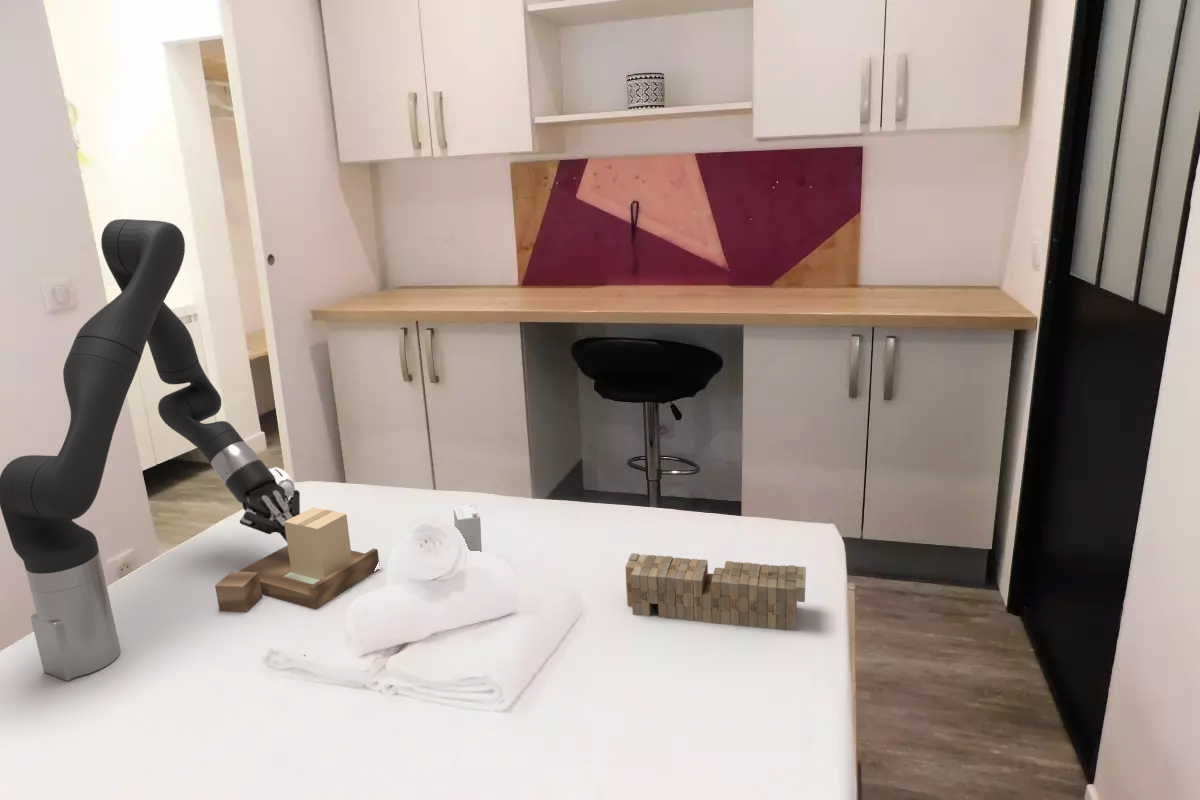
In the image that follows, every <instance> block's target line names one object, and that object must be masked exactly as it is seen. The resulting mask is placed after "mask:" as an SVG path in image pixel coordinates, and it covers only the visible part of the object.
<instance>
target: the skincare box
mask: <svg viewBox="0 0 1200 800" xmlns="http://www.w3.org/2000/svg"><path fill="white" fill-rule="evenodd" d="M453 519H454V520H453V522H454V528H455V527H456V528H457V529H458V530H459V531H460V533H461V534H462V536H463V538H464V539H465V542H466V544H467V547H468V549H469V550H470V551H480V552H482V548H483V547H482V528H481V527H482V526H481V516H480V514H479V509H478V508H477V506H476V504H469V505H468V504H466V505H461V506H454V507H453Z"/></svg>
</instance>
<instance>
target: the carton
mask: <svg viewBox="0 0 1200 800" xmlns="http://www.w3.org/2000/svg"><path fill="white" fill-rule="evenodd" d="M284 525H285V532H286V538H287V542H286V546H287V545H288V552H289V559H290V566H291V573H295V574H299V575H303V576H307V577H311V578H315V579H319V580H321V579H323V578H325V577H326V576H328V575H330V574H332V573H333V572H335V571H337V570H338V569H340V568H342V567H343V566H345V565H347V564H348V563H350V562H352V556H351V550H352V549H351V541H350V534H349V533H350V532H349V524H348V515H347V513H345V512H338V511H334V510H330V509H323V508H319V507H312V508H309V509H307V510H305V511H303V512H300V514H299V515H297V516H295V517H293V518H291V519H289V520H287V521H285V522H284Z"/></svg>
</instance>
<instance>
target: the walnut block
mask: <svg viewBox="0 0 1200 800" xmlns="http://www.w3.org/2000/svg"><path fill="white" fill-rule="evenodd" d="M214 587H215V593H216V598H217V604H218V610H219V612H223V613H224V612H225V613H226V612H227V613H229V612H232V613H248V612H249V611H250V610H251V609H252V608H253V607H254V606H255V605H256V604H257V603H258V602H259V601H260V600H262V598H263V594H262V592H261V586H260V580H259V573H258V572H237V571H230V572H229V573H228V574H227V575H226V576H225V577H223V578H222V579H220V581H219V582H218V583H216V584H215V585H214Z"/></svg>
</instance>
